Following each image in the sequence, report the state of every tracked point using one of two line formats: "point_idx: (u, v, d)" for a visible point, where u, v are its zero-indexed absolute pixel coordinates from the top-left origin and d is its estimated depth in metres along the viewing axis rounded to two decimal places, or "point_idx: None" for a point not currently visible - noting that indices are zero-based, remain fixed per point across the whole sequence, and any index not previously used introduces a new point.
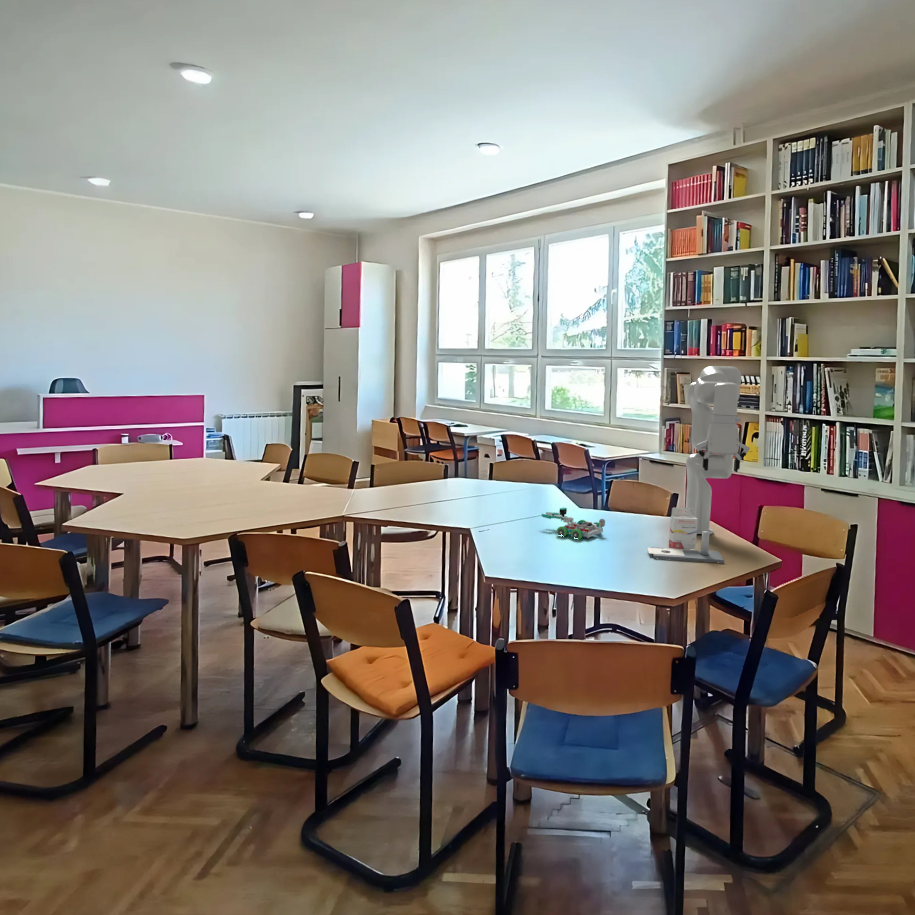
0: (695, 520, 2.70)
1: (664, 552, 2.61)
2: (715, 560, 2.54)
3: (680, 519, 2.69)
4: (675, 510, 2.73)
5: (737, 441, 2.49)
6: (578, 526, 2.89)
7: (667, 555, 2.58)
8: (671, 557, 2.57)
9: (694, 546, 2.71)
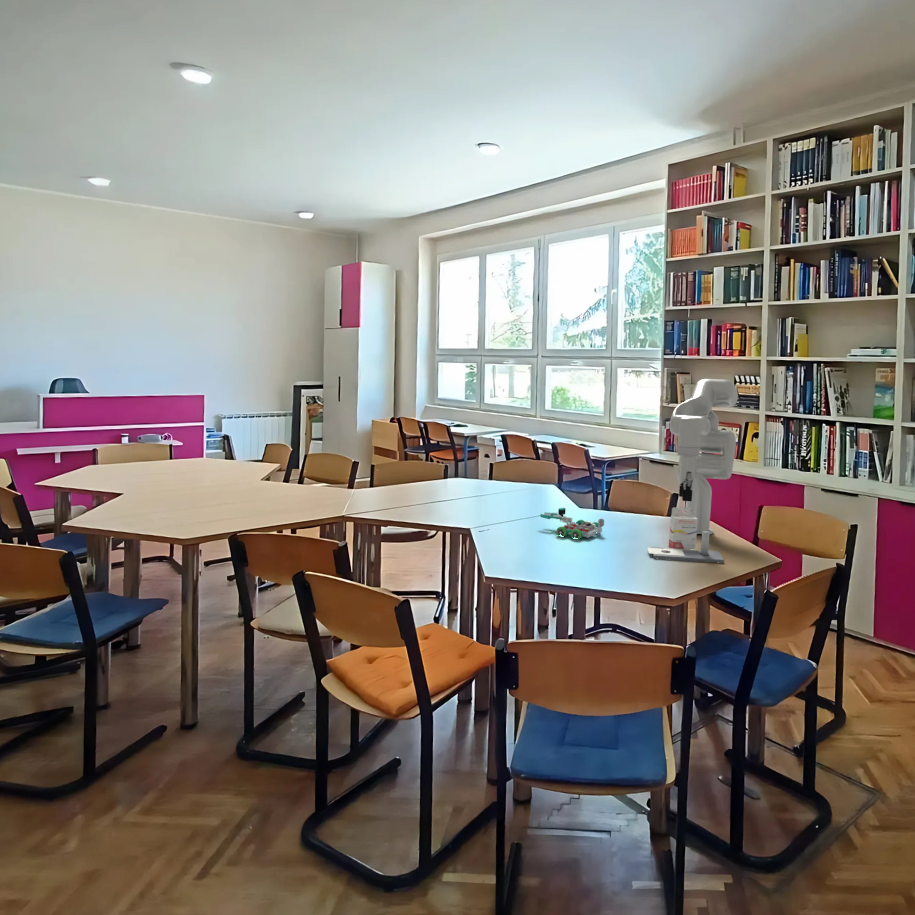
0: (695, 520, 2.70)
1: (664, 552, 2.61)
2: (715, 560, 2.54)
3: (680, 519, 2.69)
4: (675, 510, 2.73)
5: None
6: (577, 526, 2.89)
7: (667, 555, 2.58)
8: (671, 557, 2.57)
9: (694, 546, 2.71)
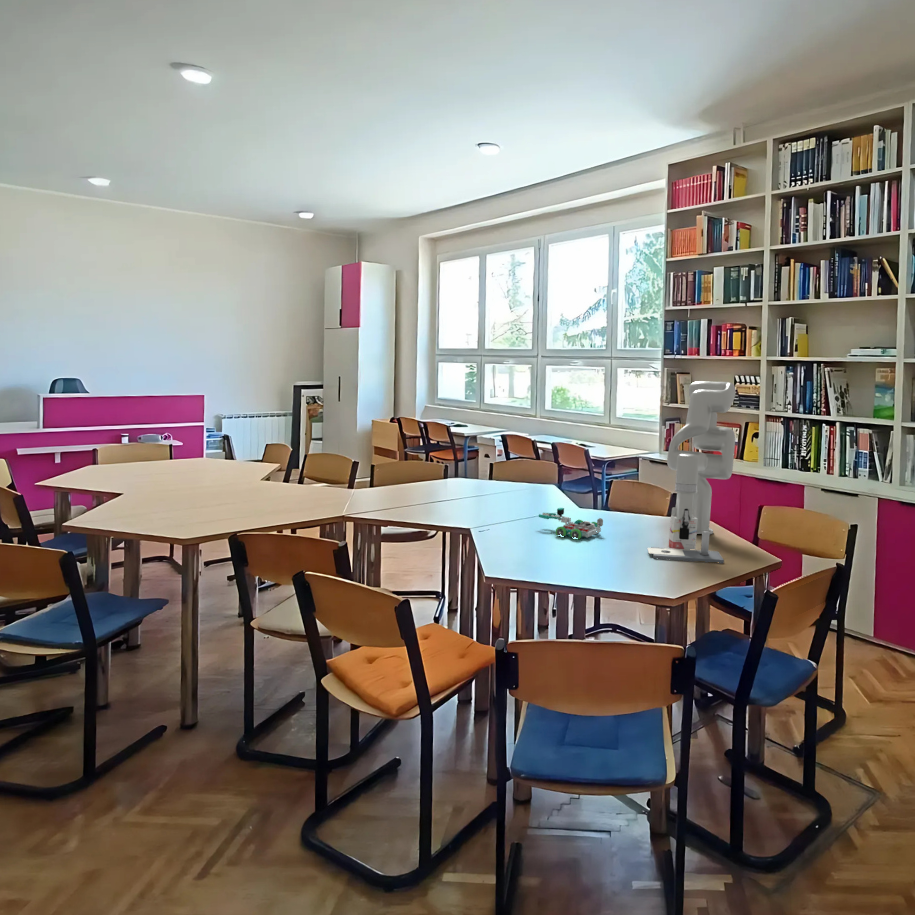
0: (695, 520, 2.70)
1: (664, 552, 2.61)
2: (715, 560, 2.54)
3: (680, 519, 2.69)
4: (675, 510, 2.73)
5: None
6: (576, 526, 2.89)
7: (667, 555, 2.58)
8: (671, 557, 2.57)
9: (694, 546, 2.71)
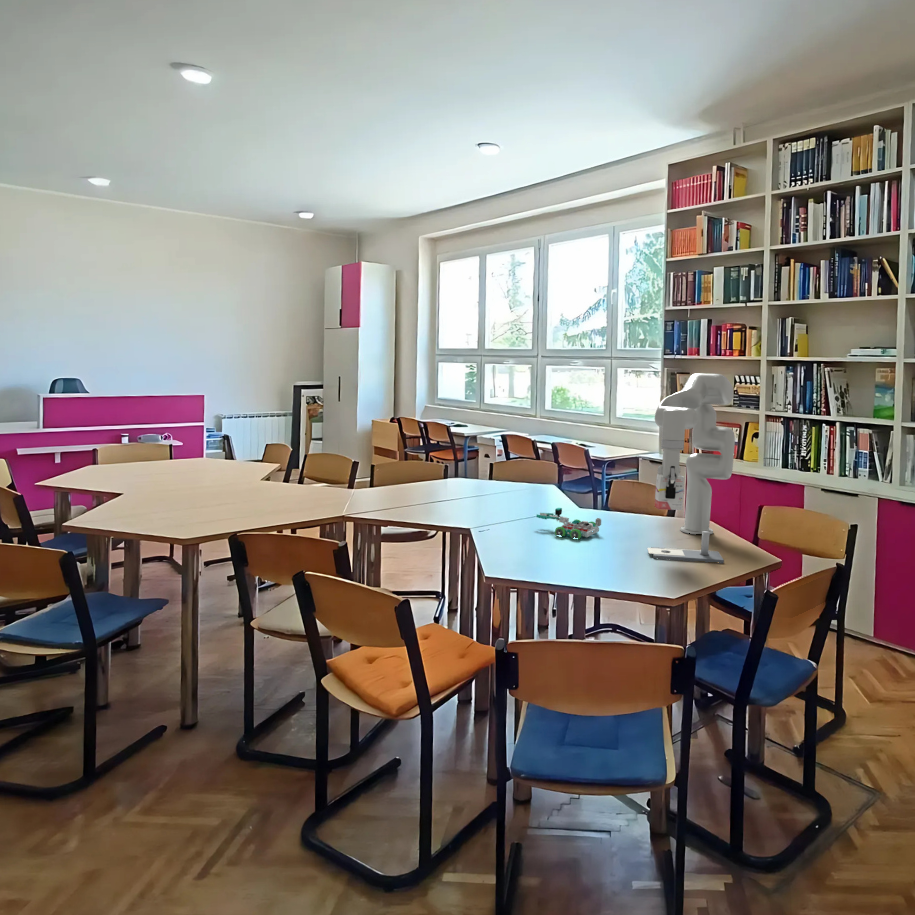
0: (682, 478, 2.57)
1: (664, 552, 2.61)
2: (715, 560, 2.54)
3: (666, 477, 2.57)
4: None
5: None
6: (575, 526, 2.89)
7: (667, 555, 2.58)
8: (671, 557, 2.57)
9: (681, 506, 2.58)
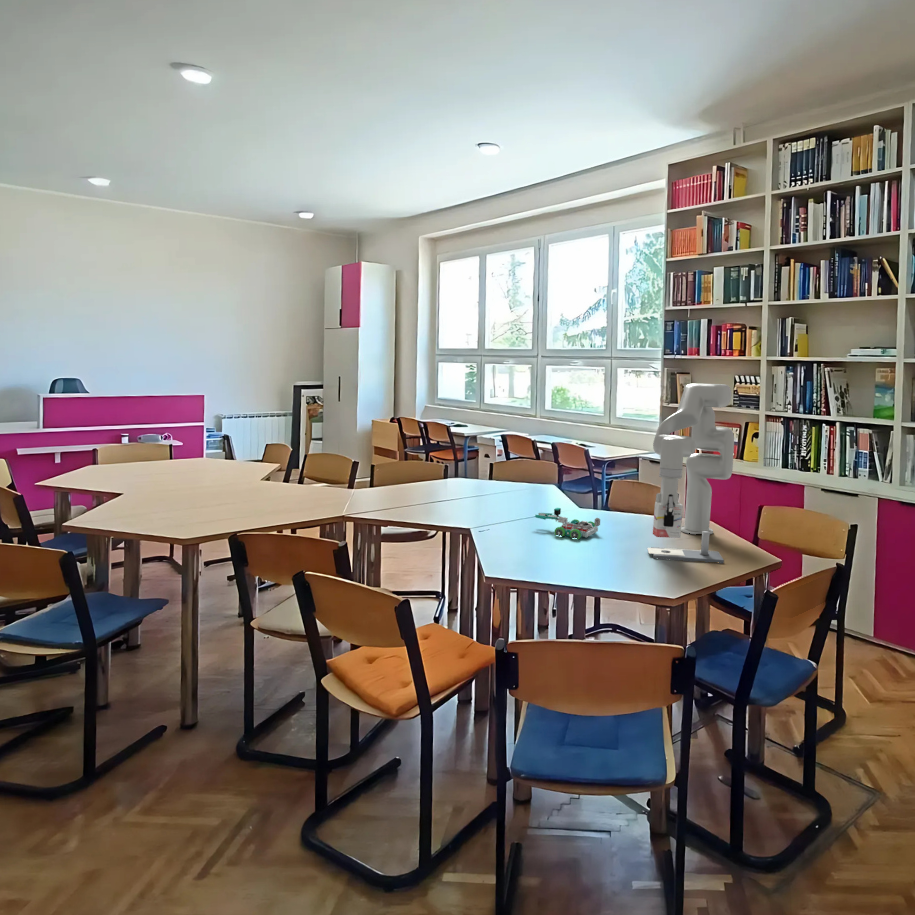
0: (680, 506, 2.58)
1: (664, 552, 2.61)
2: (715, 560, 2.54)
3: (664, 505, 2.58)
4: None
5: None
6: (575, 526, 2.89)
7: (667, 555, 2.58)
8: (671, 557, 2.57)
9: (679, 534, 2.59)
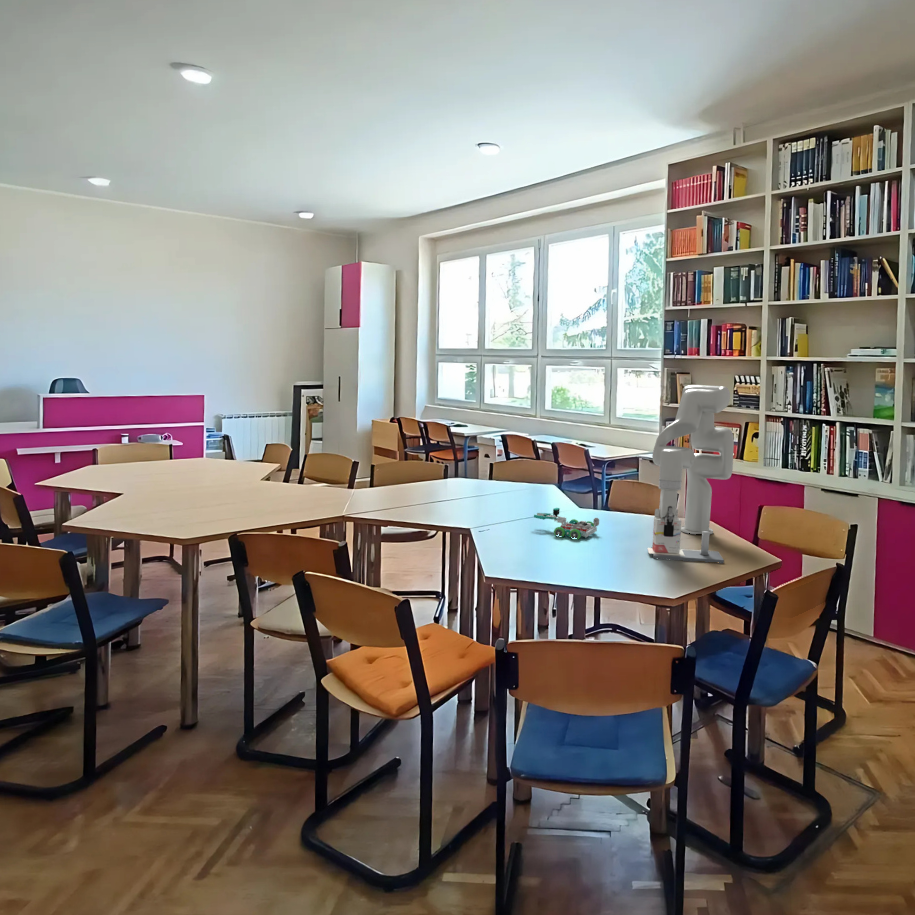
0: (678, 522, 2.59)
1: None
2: (715, 560, 2.54)
3: (662, 521, 2.59)
4: None
5: None
6: (574, 526, 2.89)
7: (667, 555, 2.58)
8: (671, 557, 2.57)
9: (678, 549, 2.60)
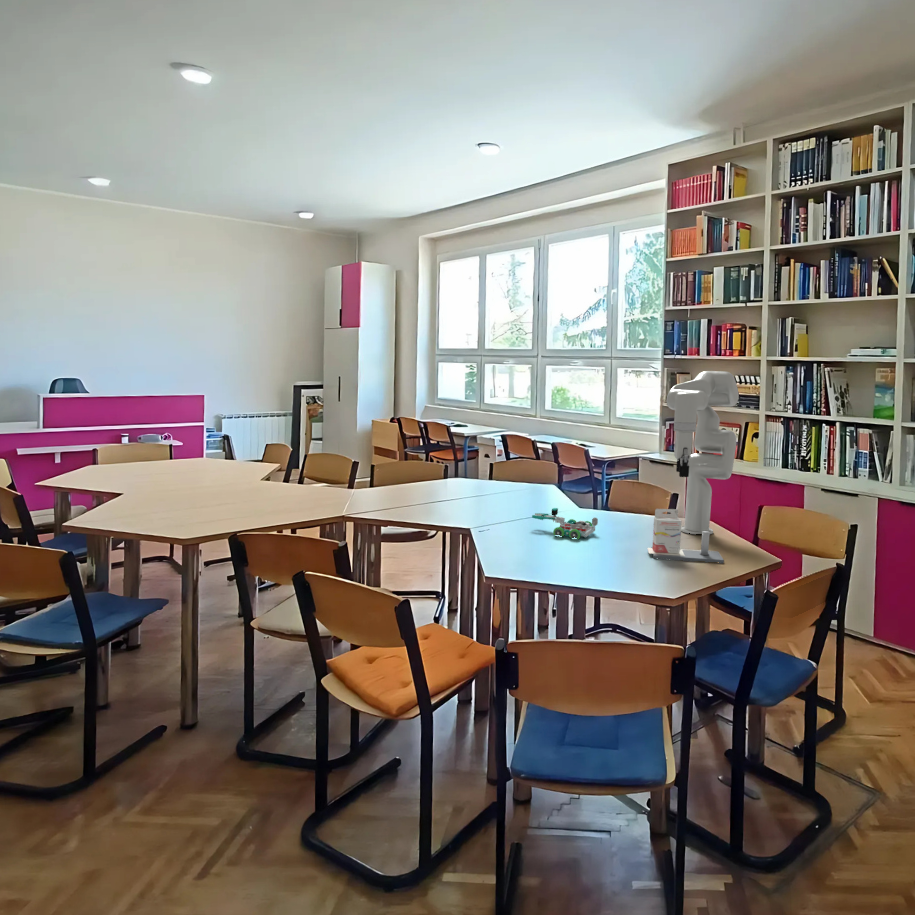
0: (679, 522, 2.59)
1: None
2: (715, 560, 2.54)
3: (663, 521, 2.59)
4: (659, 511, 2.63)
5: None
6: (573, 526, 2.89)
7: (667, 555, 2.58)
8: (671, 557, 2.57)
9: (678, 549, 2.60)
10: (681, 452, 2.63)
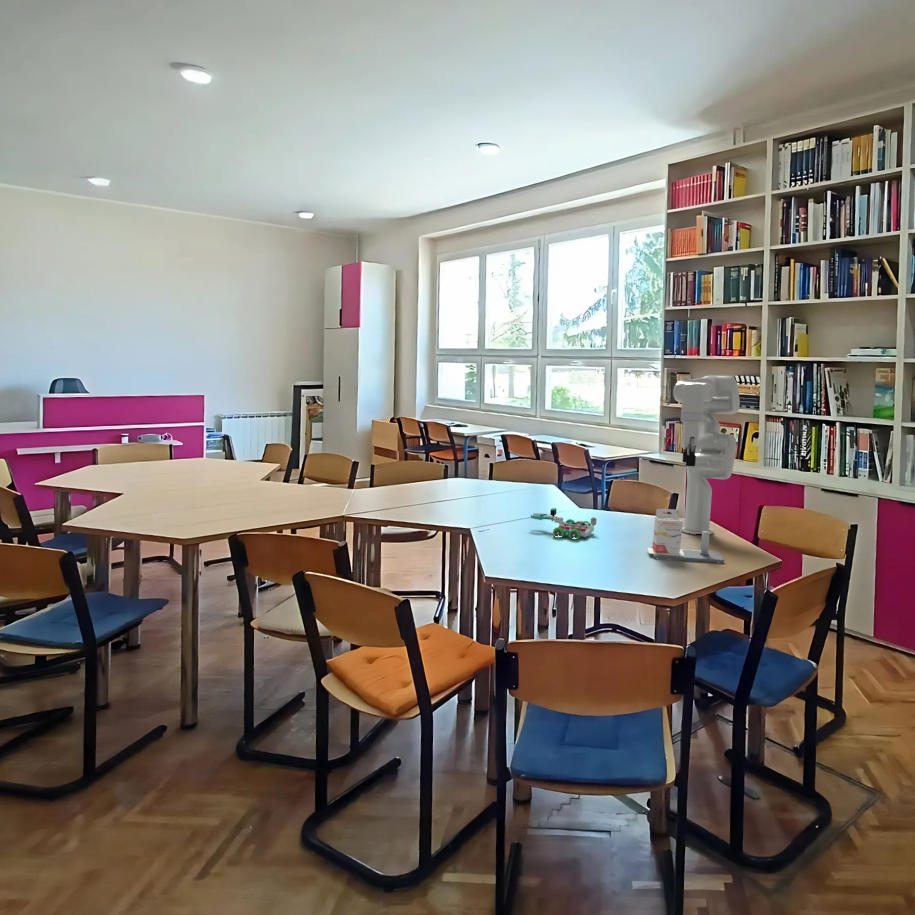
0: (680, 522, 2.58)
1: None
2: (715, 560, 2.54)
3: (664, 521, 2.58)
4: (660, 511, 2.62)
5: None
6: (572, 526, 2.89)
7: (667, 555, 2.58)
8: (671, 557, 2.57)
9: (678, 549, 2.60)
10: (688, 441, 2.68)
